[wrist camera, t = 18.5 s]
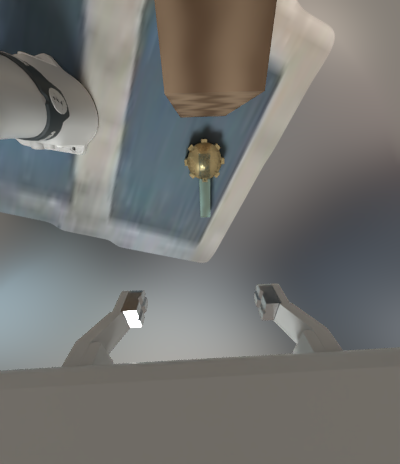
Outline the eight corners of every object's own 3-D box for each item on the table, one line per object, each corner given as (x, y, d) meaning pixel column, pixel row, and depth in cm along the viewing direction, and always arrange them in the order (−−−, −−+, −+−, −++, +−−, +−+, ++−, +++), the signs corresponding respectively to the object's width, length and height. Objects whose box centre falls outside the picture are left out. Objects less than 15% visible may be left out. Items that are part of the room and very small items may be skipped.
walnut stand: (180, 117, 40) (164, 93, 18) (174, 33, 33) (134, -184, 11) (224, 115, 40) (264, 90, 18) (228, 32, 33) (301, -184, 11)
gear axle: (189, 213, 53) (188, 217, 51) (183, 139, 43) (183, 139, 40) (220, 212, 54) (221, 216, 51) (223, 138, 43) (225, 138, 40)
